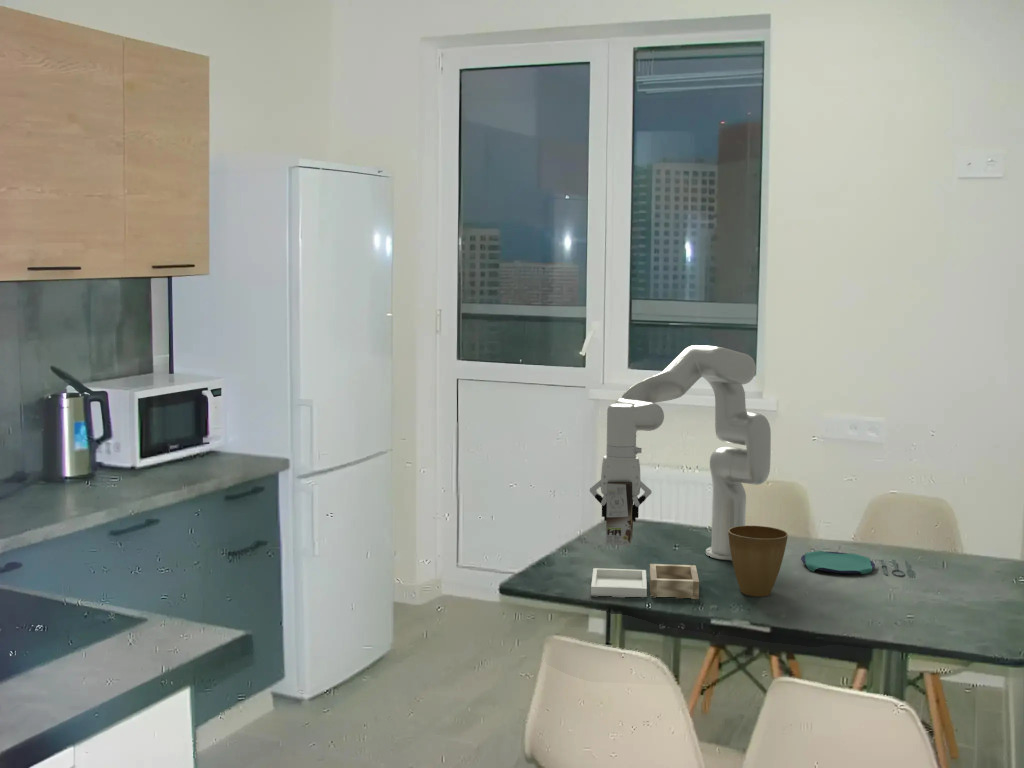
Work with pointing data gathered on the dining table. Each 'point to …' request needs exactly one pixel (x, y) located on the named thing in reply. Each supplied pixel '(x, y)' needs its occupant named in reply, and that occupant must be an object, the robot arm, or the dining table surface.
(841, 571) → the cutlery set
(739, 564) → the plant pot
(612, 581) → the tray
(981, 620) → the dining table surface
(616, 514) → the coffee box
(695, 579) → the holder
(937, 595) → the dining table surface
